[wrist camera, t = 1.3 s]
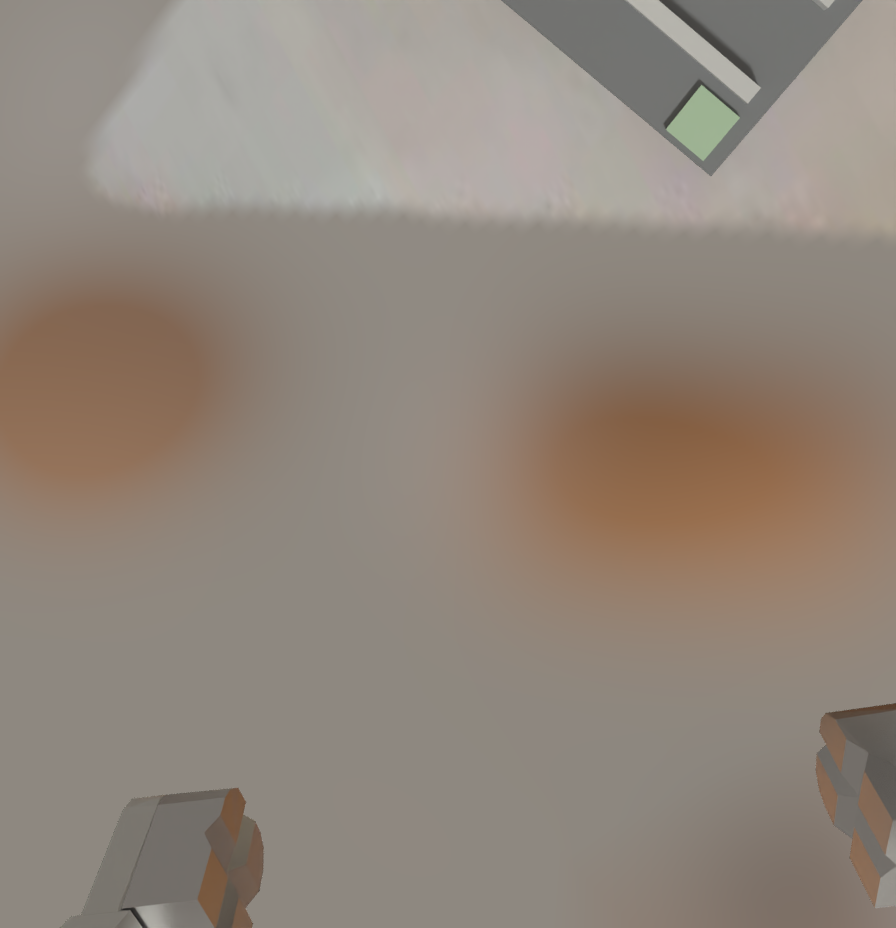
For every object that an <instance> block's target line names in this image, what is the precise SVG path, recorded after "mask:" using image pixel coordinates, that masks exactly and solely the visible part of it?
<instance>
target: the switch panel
mask: <svg viewBox="0 0 896 928" xmlns="http://www.w3.org/2000/svg"><path fill="white" fill-rule="evenodd" d="M502 1H503V2H504V3H505V4H506V5H508V6H509V7H510V8H511V9H512V10H513V11H515V12H516V13H517V14H518V15H519V16H521V17H522V18H523V19H524V20H525V21H527V22H528V23H529V24H530V25H531V26H533V27H534V28H535V29H536V30H537V31H538V32H540V33H541V34H542V35H543V36H544V37H546V38H547V39H548V40H549V41H550V42H552V43H553V44H554V45H555V46H556V47H558V48H559V49H560V50H561V51H562V52H563V53H565V54H566V55H567V56H568V57H569V58H571V59H572V60H573V61H574V62H575V63H577V64H578V65H579V66H580V67H581V68H583V69H584V70H585V71H586V72H587V73H588V74H590V75H591V76H592V77H593V78H594V79H596V80H597V81H598V82H599V83H600V84H602V85H603V86H604V87H605V88H606V89H608V90H609V91H610V92H611V93H612V94H613V95H615V96H616V97H617V98H618V99H619V100H621V101H622V102H623V103H624V104H625V105H627V106H628V107H629V108H630V109H631V110H633V111H634V112H635V113H636V114H637V115H638V116H640V117H641V118H642V119H643V120H644V121H646V122H647V123H648V124H649V125H650V126H652V127H653V128H654V129H655V130H656V131H658V132H659V133H660V134H661V135H662V136H663V137H665V138H666V139H667V140H668V141H669V142H671V143H672V144H673V145H674V146H675V147H677V148H678V149H679V150H680V151H681V152H683V153H684V154H685V155H686V156H687V157H688V158H690V159H691V160H692V161H693V162H694V163H696V164H697V165H698V166H699V167H700V168H702V169H703V170H704V171H705V172H706V173H708V174H709V175H710V176H712V175H713V173H714V172H715V171H716V170H717V169H718V168H719V166H720V165H721V164H722V163H723V162H724V161H725V159H726V158H727V157H728V156H729V155H730V154H731V152H732V151H733V150H734V149H735V148H736V147H737V145H738V144H739V143H740V142H741V141H742V140H743V139H744V137H745V136H746V135H747V134H748V133H749V132H750V130H751V129H752V128H753V127H754V126H755V125H756V123H757V122H758V121H759V120H760V119H761V118H762V116H763V115H764V114H765V113H766V112H767V111H768V109H769V108H770V107H771V106H772V105H773V104H774V102H775V101H776V100H777V99H778V98H779V97H780V95H781V94H782V93H783V92H784V91H785V90H786V88H787V87H788V86H789V85H790V84H791V83H792V82H793V80H794V79H795V78H796V77H797V76H798V75H799V73H800V72H801V71H802V70H803V69H804V68H805V66H806V65H807V64H808V63H809V62H810V61H811V59H812V58H813V57H814V56H815V55H816V54H817V52H818V51H819V50H820V49H821V48H822V47H823V45H824V44H825V43H826V42H827V41H828V40H829V38H830V37H831V36H832V35H833V34H834V33H835V32H836V30H837V29H838V28H839V27H840V26H841V25H842V23H843V22H844V21H845V20H846V19H847V18H848V16H849V15H850V14H851V13H852V12H853V11H854V9H855V8H856V7H857V6H858V5H859V4H860V2H861V1H862V0H502Z"/></svg>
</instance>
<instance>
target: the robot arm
mask: <svg viewBox="0 0 896 928" xmlns="http://www.w3.org/2000/svg"><path fill="white" fill-rule="evenodd" d="M819 732H820V734H821V736H822V738H823V740H824V741H825V743H826V745H825V746H824V747H823V748H822V749H821V750H820V751H819V752H818V753H817V756H816V775H817V781H818V786H819V791H820V794H821V797H822V800H823V803H824V805H825V808H826V810H827V812H828V814H829V816H830V818H831V820H832V822H833V825H834V826H835V827H837V828H838V829H839V830H841V831H842V832H843V833H845V834H846V835H848V836H849V837H850V838H852V845H851V851H850V859H851V862H852V864H853V866H854V868H855V870H856V871H857V873H858V876H859V877H860V880H861V882H862V884H863V886H864V887H865V890H866V892H867V894H868V896H869V898H870V900H871V902H872V904H873V905H874V908H881V907H895V906H896V703H893V704H886V705H879V706H872V707H864V708H858V709H851V710H844V711H836V712H829V713H825V715H824V716H823V717H822V718H821V722H820V730H819ZM245 804H246V801H245V799H244V797H243V796H242V794H241V792H240V790H239V788H230V789H220V790H209V791H199V792H190V793H179V794H169V795H159V796H151V797H142V798H134V799H131V801H130V802H129V803H128V804H127V806H126V807H125V808H124V809H123V811H122V813H121V816H120V818H119V821H118V823H117V826H116V828H115V831H114V833H113V836H112V838H111V841H110V844H109V846H108V848H107V851H106V854H105V856H104V858H103V861H102V864H101V866H100V868H99V871H98V874H97V876H96V879H95V881H94V884H93V886H92V889H91V891H90V894H89V896H88V899H87V901H86V904H85V906H84V909H83V911H82V914H81V915H77V916H71V917H70V918H69V919H68V920H67V921H66V922H65V923H64V924H63V925H62V926H61V927H60V928H252V926H253V923H252V920H251V919H250V916H249V914H248V912H247V910H246V907H247V906H248V904H249V903H250V902H251V901H252V899H253V898H254V897H255V896H256V895H257V893H258V892H259V891H260V886H261V880H262V875H263V863H264V859H263V858H264V853H263V852H264V851H263V850H264V847H263V842H262V837H261V832H260V830H259V828H258V826H257V824H256V822H255V821H254V820H252V819H250V818H249V817H247V816H245V815H243V813H244V809H245Z"/></svg>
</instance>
